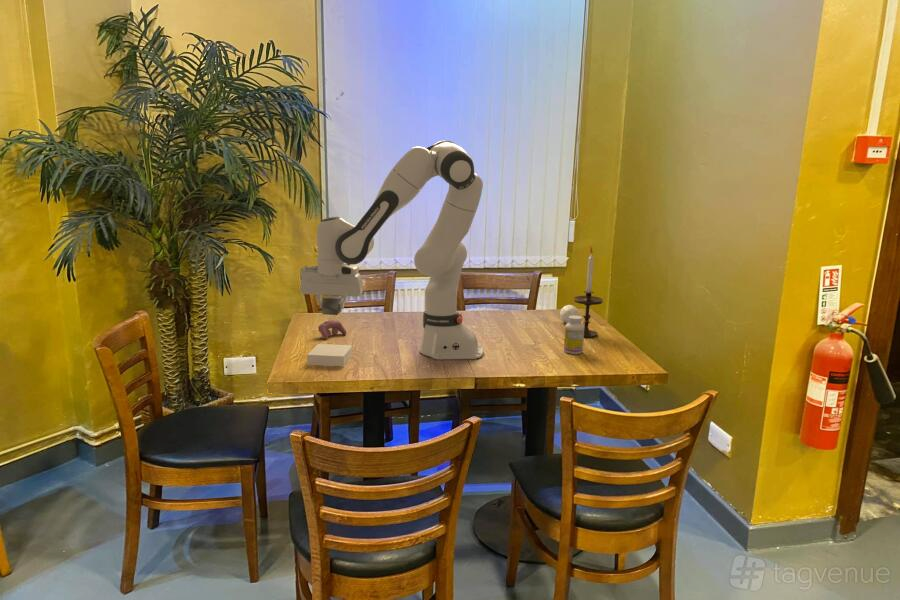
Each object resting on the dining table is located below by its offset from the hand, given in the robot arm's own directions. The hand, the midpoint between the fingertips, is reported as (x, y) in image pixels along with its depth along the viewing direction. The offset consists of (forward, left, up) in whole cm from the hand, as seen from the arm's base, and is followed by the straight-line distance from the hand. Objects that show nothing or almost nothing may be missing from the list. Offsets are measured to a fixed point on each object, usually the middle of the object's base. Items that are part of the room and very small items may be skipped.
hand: (331, 308), depth 211 cm
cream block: (0, +2, -18) cm, 18 cm away
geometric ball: (-84, -60, -18) cm, 104 cm away
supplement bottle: (-82, -20, -18) cm, 86 cm away
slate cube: (0, 0, -2) cm, 2 cm away
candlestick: (-89, -43, -18) cm, 100 cm away
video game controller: (+7, -26, -18) cm, 32 cm away
